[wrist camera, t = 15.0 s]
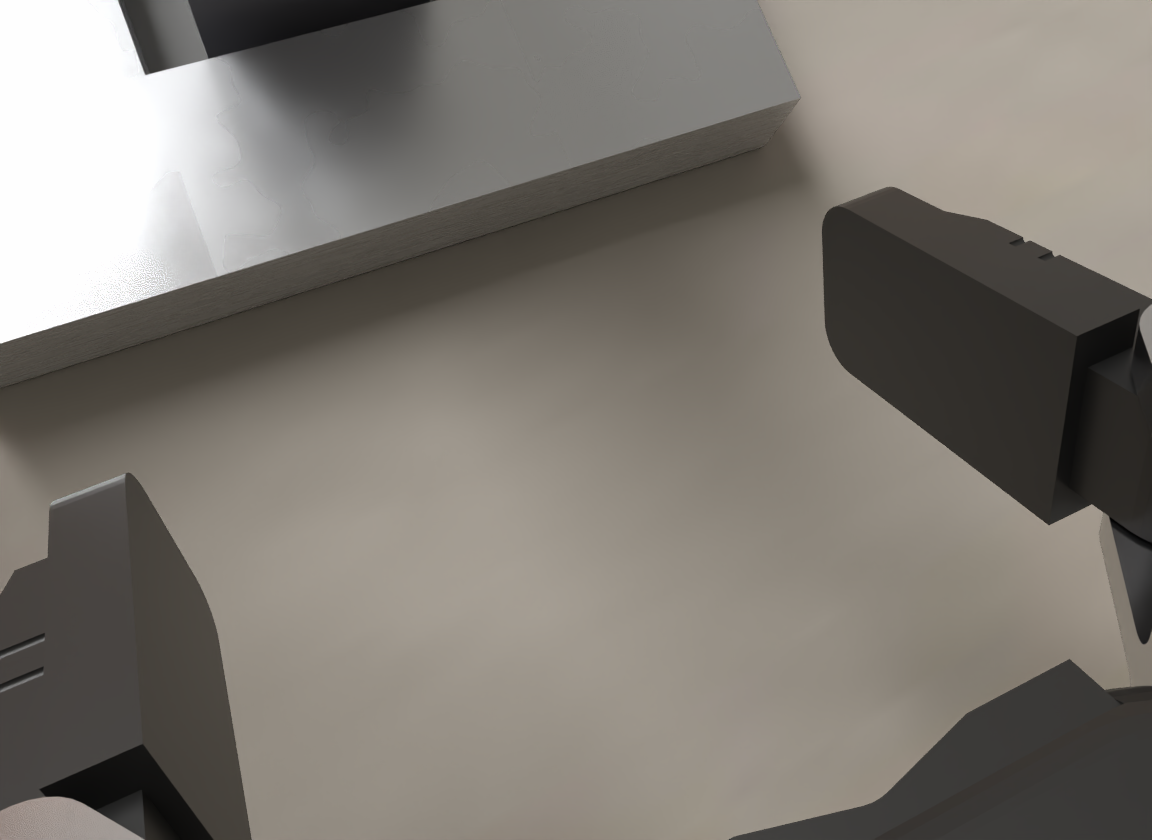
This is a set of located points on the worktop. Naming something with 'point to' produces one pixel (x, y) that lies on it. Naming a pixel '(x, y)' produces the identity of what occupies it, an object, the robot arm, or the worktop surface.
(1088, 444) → the robot arm
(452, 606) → the worktop surface
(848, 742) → the worktop surface
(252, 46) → the plug
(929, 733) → the worktop surface
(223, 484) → the worktop surface
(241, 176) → the socket
